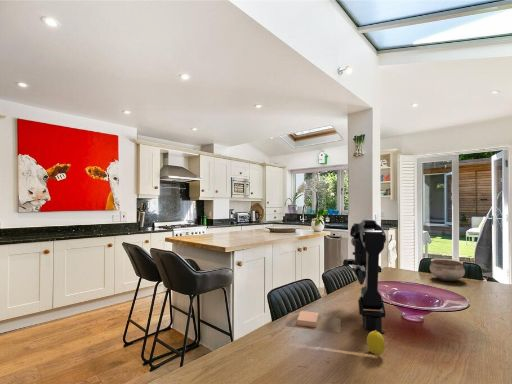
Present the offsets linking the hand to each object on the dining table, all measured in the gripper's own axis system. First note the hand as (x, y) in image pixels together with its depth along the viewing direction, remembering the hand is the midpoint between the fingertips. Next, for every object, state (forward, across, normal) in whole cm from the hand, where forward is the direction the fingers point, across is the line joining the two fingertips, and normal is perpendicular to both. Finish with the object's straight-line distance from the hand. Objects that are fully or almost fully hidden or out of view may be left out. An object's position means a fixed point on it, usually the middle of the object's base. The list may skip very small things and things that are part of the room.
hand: (361, 284), depth 135 cm
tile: (+10, -4, +28) cm, 30 cm away
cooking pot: (+12, +18, -89) cm, 92 cm away
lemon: (+12, -32, +25) cm, 42 cm away
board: (+12, -3, +29) cm, 32 cm away
